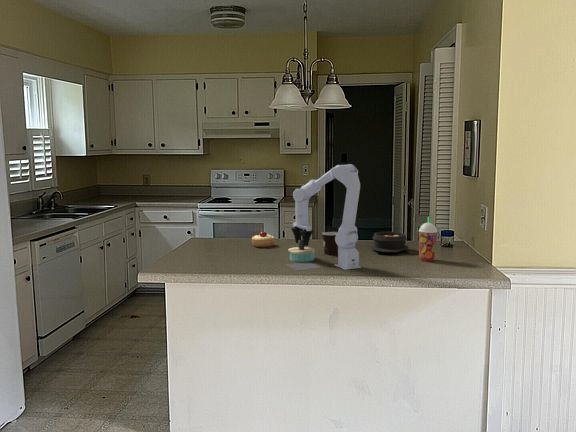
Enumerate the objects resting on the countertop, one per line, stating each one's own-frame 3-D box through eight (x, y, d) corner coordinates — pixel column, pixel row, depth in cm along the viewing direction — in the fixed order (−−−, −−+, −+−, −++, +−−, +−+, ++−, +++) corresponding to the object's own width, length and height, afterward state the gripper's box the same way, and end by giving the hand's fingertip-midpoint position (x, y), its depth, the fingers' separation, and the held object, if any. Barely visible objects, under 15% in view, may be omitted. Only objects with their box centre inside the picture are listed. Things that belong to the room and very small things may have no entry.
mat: (322, 268, 235) (322, 267, 235) (296, 271, 230) (296, 270, 230) (309, 262, 246) (309, 261, 246) (284, 265, 241) (284, 264, 241)
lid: (319, 252, 249) (319, 240, 248) (296, 255, 243) (296, 243, 243) (305, 247, 260) (305, 236, 259) (283, 250, 254) (283, 239, 253)
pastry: (257, 250, 278) (257, 232, 276) (248, 245, 288) (247, 229, 287) (278, 246, 283) (278, 230, 282) (268, 242, 294) (268, 226, 292)
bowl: (318, 260, 250) (318, 252, 249) (296, 263, 245) (296, 254, 244) (307, 256, 260) (307, 247, 259) (285, 258, 255) (285, 250, 254)
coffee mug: (338, 256, 259) (339, 235, 258) (320, 255, 261) (320, 234, 259) (341, 251, 270) (341, 231, 269) (324, 250, 272) (324, 230, 271)
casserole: (407, 256, 257) (407, 239, 256) (367, 254, 262) (367, 237, 261) (410, 246, 281) (410, 230, 280) (373, 245, 286) (373, 229, 285)
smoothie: (424, 257, 255) (425, 214, 252) (440, 260, 249) (441, 216, 246) (414, 260, 249) (415, 216, 246) (430, 263, 243) (431, 218, 241)
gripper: (287, 213, 254) (287, 242, 256) (301, 217, 241) (301, 247, 243) (300, 212, 257) (300, 241, 259) (315, 216, 244) (315, 246, 246)
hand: (301, 244), depth 251 cm, fingers open, 7 cm apart
